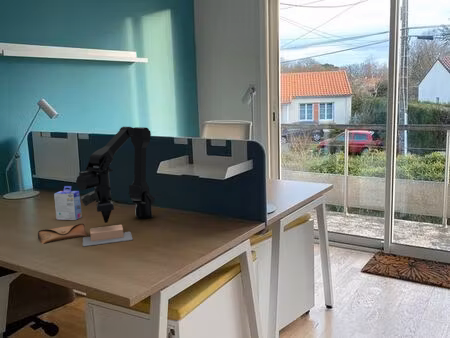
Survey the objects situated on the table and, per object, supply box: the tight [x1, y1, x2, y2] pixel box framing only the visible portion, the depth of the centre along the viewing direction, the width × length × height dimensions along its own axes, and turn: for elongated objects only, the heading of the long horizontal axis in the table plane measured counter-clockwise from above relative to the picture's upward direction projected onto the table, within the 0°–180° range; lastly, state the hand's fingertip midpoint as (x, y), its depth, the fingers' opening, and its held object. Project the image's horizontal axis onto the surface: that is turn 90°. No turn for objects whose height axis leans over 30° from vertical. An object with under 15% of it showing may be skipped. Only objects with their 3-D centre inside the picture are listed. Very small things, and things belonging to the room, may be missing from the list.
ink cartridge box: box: [53, 185, 83, 221], centre depth 198 cm, size 10×6×14 cm, turn 78°
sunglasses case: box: [37, 223, 89, 245], centre depth 174 cm, size 18×7×7 cm, turn 118°
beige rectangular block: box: [89, 224, 124, 241], centre depth 172 cm, size 12×3×7 cm
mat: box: [82, 231, 133, 247], centre depth 169 cm, size 18×10×1 cm, turn 107°
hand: (106, 222), depth 178 cm, fingers closed
